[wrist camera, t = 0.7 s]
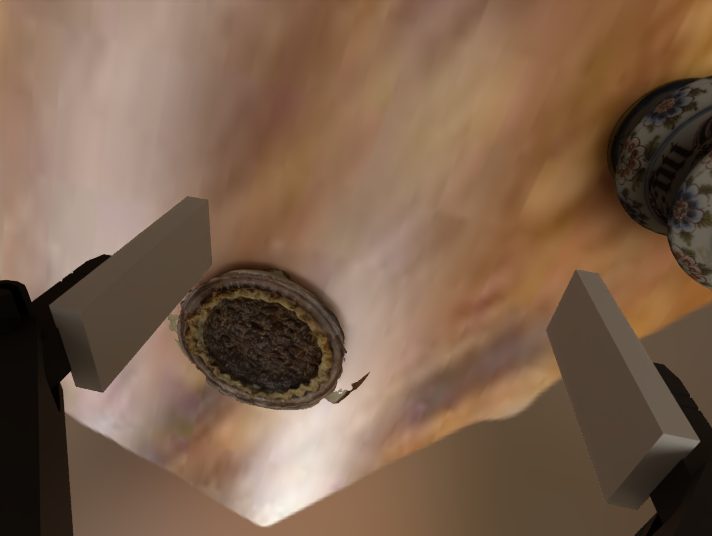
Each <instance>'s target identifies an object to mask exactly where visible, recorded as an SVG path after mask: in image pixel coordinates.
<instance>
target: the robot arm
mask: <svg viewBox="0 0 712 536" xmlns="http://www.w3.org/2000/svg"><path fill="white" fill-rule="evenodd" d="M211 265H212V256H211V240H210V224H209V208H208V200H205V199H200V198H195V197H189V196H187V197H186V198H185V199H183V200H182V201H181V202H180V203H178V204H177V205H176V206H175V207H173V208H172V209H171V210H169V211H168V212H167V213H166V214H164V215H163V216H162V217H161V218H159V219H158V220H157V221H155V222H154V223H153V224H152V225H150V226H149V227H148V228H147V229H145V230H144V231H143V232H141V233H140V234H139V235H138V236H136V237H135V238H134V239H133V240H131V241H130V242H129V243H128V244H126V245H125V246H124V247H122V248H121V249H120V250H119V251H117V252H116V253H115V254H114V255H112V256H110V255H105V254H103V255H101V256H98V257H96V258H94V259H91V260H89V261H86V262H85V263H84V264H82V265H81V266H80V267H78V268H77V269H76V270H74V271H73V273H70V274H69V275H67V276H66V277H65V278H63V280H62V282H61V281H59V282H58V283H57V284H55V285H54V286H53V287H51V288H50V289H49V290H47V291H46V292H45V293H43V294H42V295H41V296H39V297H38V298H37V299H35V300H34V301H33V302H31V299H30V297H29V294H28V291H27V289H26V287H25V285H24V284H22V283H20V282H18V281H10V280H1V281H0V536H73V524H72V511H71V496H70V482H69V468H68V454H67V441H66V426H65V412H64V398H63V389H62V386H61V384H60V381H61V380H62V379H63V378H64V377H65V376H66V375H67V374H68V373H69V372H70V371H71V373H72V377H73V380H74V383H75V386H76V387H80V388H84V389H89V390H93V391H98V392H104V391H105V390H106V389H107V387H108V386H109V385H110V384H111V383H112V381H113V380H114V379H115V378H116V377H117V376H118V374H119V373H120V372H121V371H122V370H123V368H124V367H125V366H126V365H127V364H128V363H129V361H130V360H131V359H132V358H133V357H134V355H135V354H136V353H137V352H138V351H139V350H140V348H141V347H142V346H143V345H144V344H145V342H146V341H147V340H148V339H149V338H150V337H151V335H152V334H153V333H154V332H155V331H156V330H157V328H158V327H159V326H160V325H161V324H162V322H163V321H164V320H165V319H166V318H167V317H168V315H169V314H170V313H171V312H172V311H173V309H174V308H175V307H176V306H177V305H178V304H179V302H180V301H181V300H182V299H183V298H184V296H185V295H186V294H187V293H188V292H189V291H190V289H191V288H192V287H193V286H194V285H195V283H196V282H197V281H198V280H199V279H200V278H201V276H202V275H203V274H204V273H205V272H206V271H207V269H208V268H209V267H210V266H211ZM546 331H547V334H548V337H549V340H550V343H551V346H552V349H553V352H554V355H555V357H556V360H557V363H558V366H559V369H560V372H561V375H562V378H563V381H564V383H565V386H566V389H567V392H568V395H569V398H570V401H571V404H572V407H573V410H574V413H575V416H576V418H577V421H578V424H579V427H580V430H581V433H582V436H583V439H584V442H585V444H586V447H587V450H588V453H589V456H590V459H591V462H592V465H593V468H594V471H595V474H596V477H597V479H598V482H599V485H600V488H601V491H602V493H603V497H604V500H605V503H608V504H612V505H617V506H622V507H626V508H630V509H635V510H638V508H640V506H641V505H642V504H643V503H644V502H645V501H646V500H647V499H648V498H649V497H651V499H652V502H653V504H654V506H655V508H656V511H657V513H656V514H655V515H654V516H653V517H652V518H651V519H650V520H649V521H648V522H647V523H646V524H645V525H644V526H643V527H642V528H641V529H640V530H639V531H638V532H637V533H636V534H635V536H712V428H711V426H710V425H709V423H708V422H707V420H706V419H705V417H704V416H703V414H702V413H701V411H698V406H697V405H696V404H695V402H694V400H693V399H692V398H690V394H689V393H688V391H687V390H686V388H685V387H684V385H683V384H682V382H681V380H680V379H679V378H678V377H677V376H675V375H674V374H673V373H672V372H671V371H670V370H669V369H668V368H667V367H666V366H665V365H663V364H658V363H653V362H652V361H651V359H650V358H649V356H648V354H647V353H646V351H645V349H644V348H643V346H642V344H641V343H640V341H639V339H638V338H637V336H636V334H635V333H634V331H633V329H632V328H631V326H630V325H629V323H628V321H627V320H626V318H625V316H624V315H623V313H622V311H621V310H620V308H619V307H618V305H617V303H616V302H615V300H614V298H613V297H612V295H611V293H610V292H609V290H608V288H607V287H606V285H605V284H604V282H603V280H602V279H601V277H600V275H599V274H598V273H593V272H587V271H582V270H577V269H576V270H575V272H574V274H573V276H572V278H571V280H570V282H569V284H568V286H567V288H566V290H565V292H564V294H563V296H562V298H561V301H560V303H559V305H558V307H557V309H556V311H555V313H554V315H553V317H552V319H551V321H550V323H549V325H548V327H547V329H546Z"/></svg>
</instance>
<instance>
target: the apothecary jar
mask: <svg viewBox="0 0 712 536" xmlns="http://www.w3.org/2000/svg"><path fill="white" fill-rule="evenodd" d="M607 160H608V166H609V169H610V172H611V174H612V176H613V178H614V179H615V182H616V190H617V194H618V197H619V200H620V202H621V204H622V206H623V208H624V209H625V211H626V212H627V213H628V214H629V216H630V217H631V218H632V219H634V220H635V221H636V222H637V223H638V224H640V225H641V226H643V227H645V228H647V229H649V230H651V231H653V232H656V233H658V234H662V235H666V236H668V242H669V245H670V248H671V251H672V254H673V256H674V257H675V259H676V261H677V262H678V264H679V265H680V267H681V268H682V269H683V270H684V271H685V272H686V273H687V274H688V275H689V276H690V277H691V278H692V279H694V280H695V281H697V282H698V283H700V284H701V285H703V286H705V287H707V288H709V289H711V290H712V76H709V77H706V78H688V79H681V80H676V81H672V82H669V83H667V84H665V85H662V86H660V87H658V88H656V89H654V90H652V91H650V92H649V93H647V94H646V95H644V96H643V97H641V98H640V99H639V100H638V101H636V102H635V103H634V104H633V105H632V106H631V107H630V108H629V109H628V110H627V111H626V113H625V114H624V115H623V116H622V118H621V119H620V121H619V122H618V123H617V125H616V127H615V129H614V131H613V133H612V136H611V139H610V141H609V145H608V152H607Z"/></svg>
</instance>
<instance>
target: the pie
mask: <svg viewBox="0 0 712 536" xmlns="http://www.w3.org/2000/svg"><path fill="white" fill-rule="evenodd" d="M189 292H190V294H189V295H188V296H187V297H186V298H185V300H184V301H182V302H181V308H182V310H181V312H180V313H181V314H180V315H179V317H178V316H177V315H174V316H173V315H172V314H169V315H168V320H171V322H170V325H169V327H170V329H171V331H176V333H178V339H179V341H178V340H176V339H175V340H176V342H177V344H178V345H179V347H180V349H181V350H182V352H183V353H184V355H185V356H186V357H187V358H188V359H189V360H190V361H191V363H193V364H194V365H195V366H196V368H197V369H198V370H199V369H200V371H202V372H203V373H204V374H205V375H206V381H207V382H208V384H209V385H211V386H213V387H215V388H217V389H219V392H221V393H222V394H224V395H229V396H230V397H235V399H236V400H237V401H240V402H242V403H247V404H249V405H256V406H259V407H264V408H270V409H275V410H299V409H307V408H311V407H313V406H314V405H316V404H318V403H319V402H320V400H321V399H323V398H325V399H327V400H328V401H330V402H331V403H333V404H335V403H339V402H340V401H341V400H343V399H344V398H345V397H346V396H348V395H349V394H350V392H352V391H353V390H355V389H357V388H358V387H359V386H360V385H361V384H362V382H363V381H364V380H365V379H366V377H367V376H368V374H369V373H370V372H369V373H368V374H367V375H365V376H364V377H363V378H362V379H360V380H359V381H358V382H355V383H353V384H352V387H353V389H352V390H351V391H347V390H344V391H341V390H342V389H340V390H338V392H343V393H342V394H338V392H337V391H336V392H333V391H334V390H335V388H336V385H337V380H338V379H339V378H340V376H341V373H342V371H343V370H342V359H344V361H345V358H343V357H344V353H347V351H346V349H345V348H344V346H343V344H344V333H343V331H342V329H341V327H340V324H339V322H338V320H337V318H336V316H335V315H334V314H333V313H332V312H331V311H330V310H329V309H328V308H327V307H326V306H325V305H324V304H323V302H321V301H320V300H319V299H318V298H317V297H316V296H315V295H313V294H312V293H310V292H309V291H307V290H306V289H304V288H303V287H301V286H300V285H298V284H296V283H294V282H292V281H291V280H290V276H289V275H288V274H287V273H285V272H284V271H280V270H278V269H268V270H264V271H261V270H246V269H242V270H234V271H230V272H227V273H224V274H222V275H221V276H218V277H214V278H212V279H211V280H210V282H208V283H204V284H200V285H199V286H198V288H196V289H194V290H190V291H189ZM179 319H180V320H179ZM175 320H179V321H178V325H177V324H176V322H175Z"/></svg>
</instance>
